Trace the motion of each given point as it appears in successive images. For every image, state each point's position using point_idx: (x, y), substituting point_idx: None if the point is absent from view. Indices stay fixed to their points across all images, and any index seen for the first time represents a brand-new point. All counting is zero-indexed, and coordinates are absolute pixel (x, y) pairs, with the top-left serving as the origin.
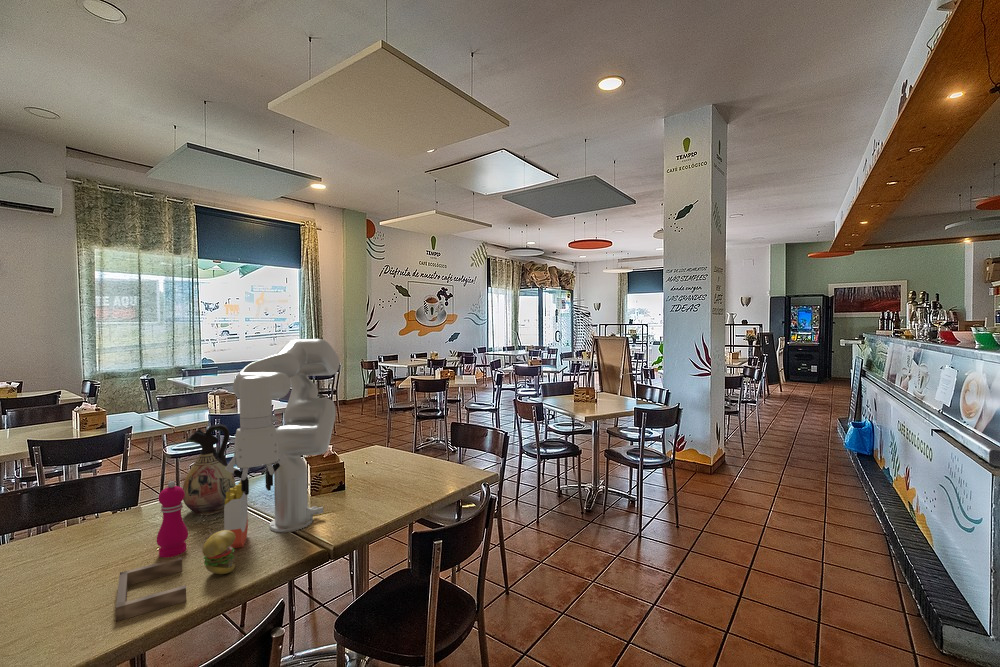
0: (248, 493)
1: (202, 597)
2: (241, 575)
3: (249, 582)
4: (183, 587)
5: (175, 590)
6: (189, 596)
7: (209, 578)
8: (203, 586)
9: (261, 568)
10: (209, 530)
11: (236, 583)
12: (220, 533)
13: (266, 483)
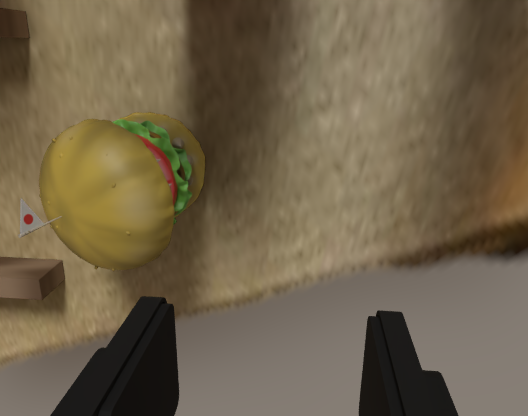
0: (173, 405)
1: (106, 287)
2: (224, 224)
3: (240, 289)
4: (34, 291)
5: (13, 296)
6: (71, 257)
7: None
8: None
9: (294, 217)
10: (22, 225)
11: (203, 268)
12: (90, 225)
13: (371, 397)
